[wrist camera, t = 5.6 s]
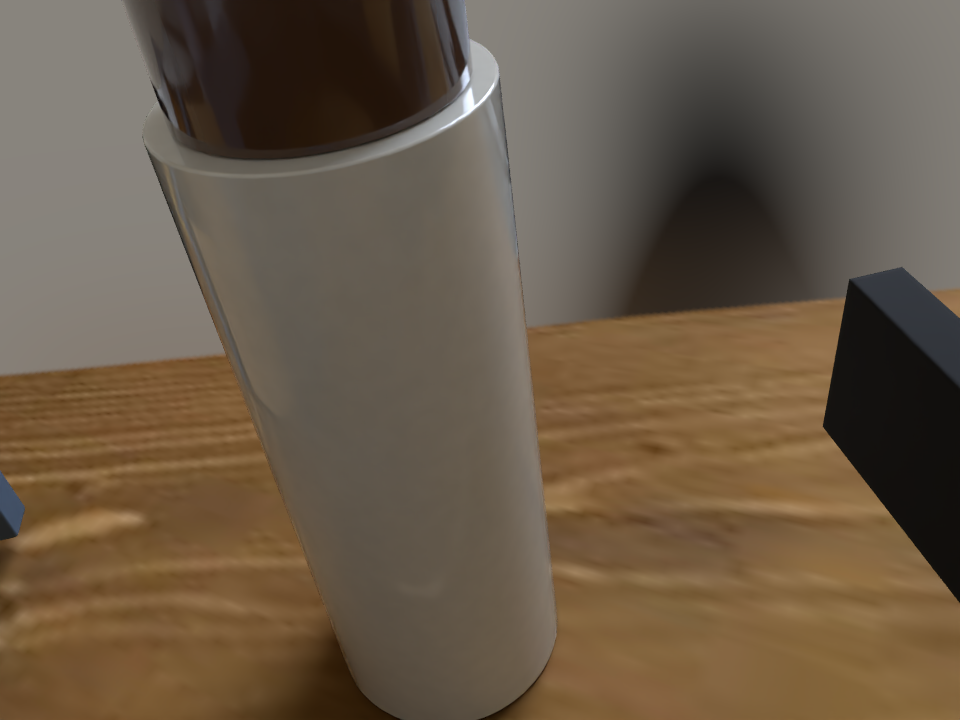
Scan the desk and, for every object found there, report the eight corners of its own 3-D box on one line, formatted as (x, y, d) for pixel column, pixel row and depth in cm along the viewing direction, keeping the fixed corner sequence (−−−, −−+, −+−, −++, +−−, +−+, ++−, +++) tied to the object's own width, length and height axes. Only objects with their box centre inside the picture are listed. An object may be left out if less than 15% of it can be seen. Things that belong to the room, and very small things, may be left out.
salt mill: (527, 519, 25) (427, -267, 14) (584, 693, 21) (510, -241, 9) (336, 565, 25) (60, -208, 13) (354, 753, 20) (-34, -151, 9)
